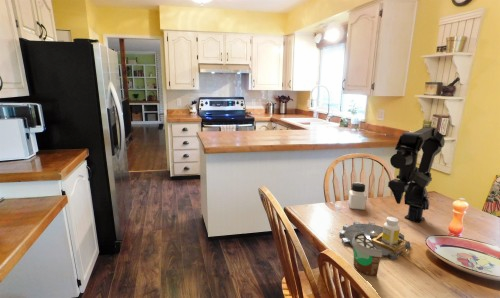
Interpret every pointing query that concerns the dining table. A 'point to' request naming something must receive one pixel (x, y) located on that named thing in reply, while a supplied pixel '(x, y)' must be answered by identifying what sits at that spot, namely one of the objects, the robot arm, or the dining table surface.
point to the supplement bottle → (391, 232)
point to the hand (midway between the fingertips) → (403, 200)
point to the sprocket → (375, 239)
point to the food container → (365, 255)
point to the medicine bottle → (357, 196)
